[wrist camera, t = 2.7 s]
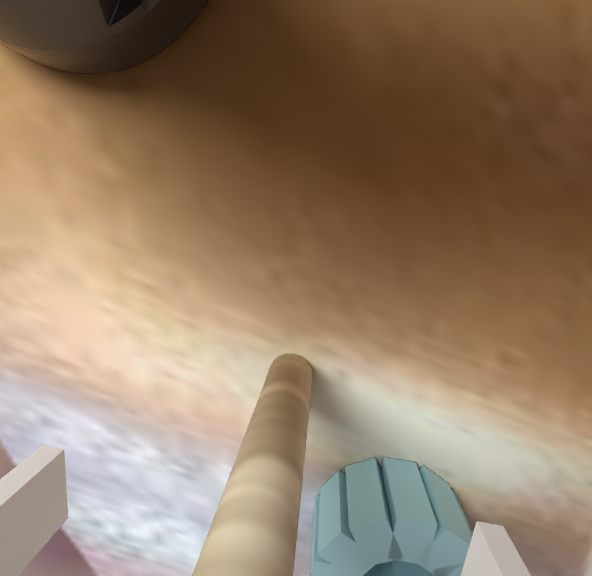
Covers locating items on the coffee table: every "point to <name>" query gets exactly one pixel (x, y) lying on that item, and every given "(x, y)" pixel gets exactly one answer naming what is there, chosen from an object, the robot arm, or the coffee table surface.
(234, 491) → the tan cylindrical rod
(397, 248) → the coffee table surface
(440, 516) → the bead
